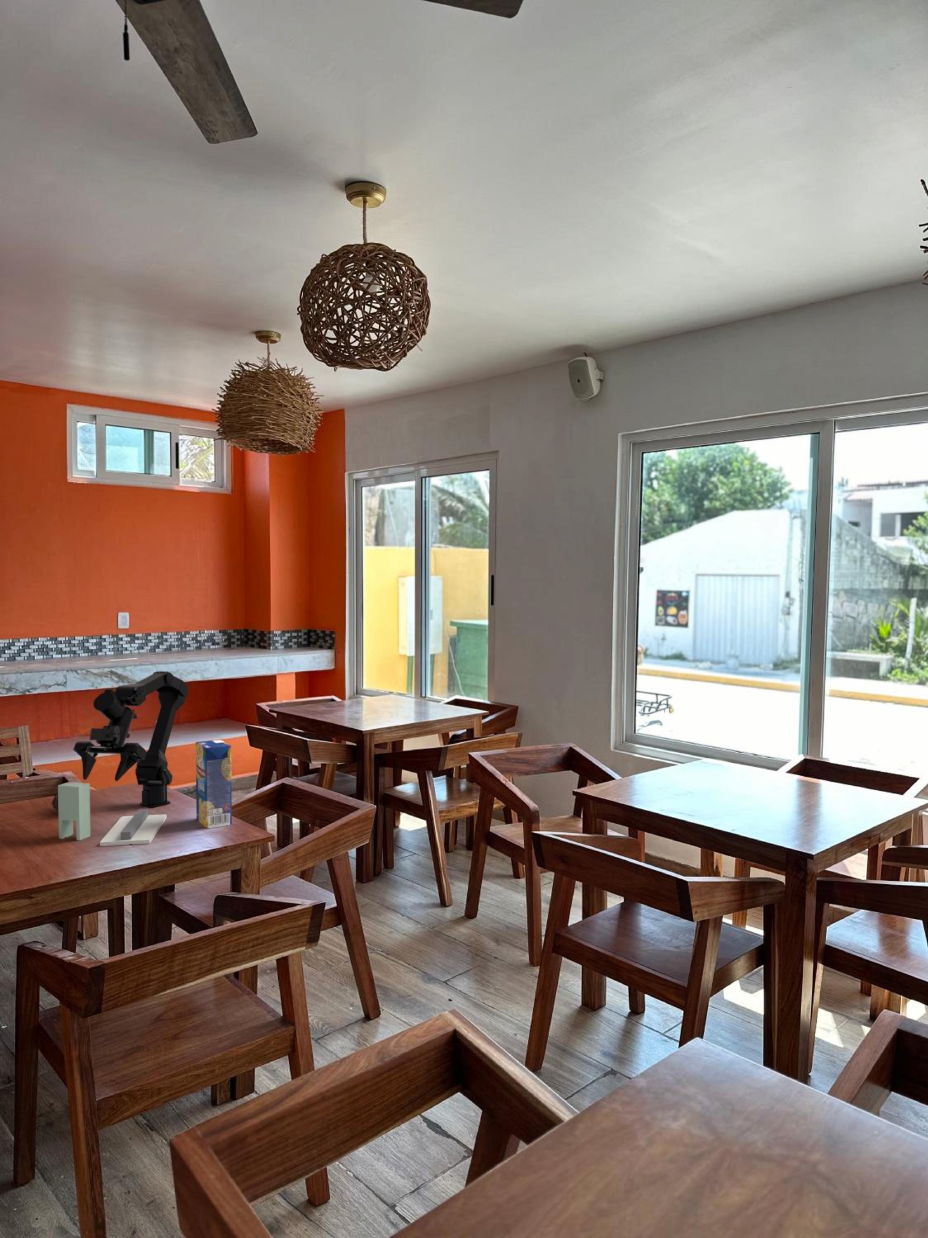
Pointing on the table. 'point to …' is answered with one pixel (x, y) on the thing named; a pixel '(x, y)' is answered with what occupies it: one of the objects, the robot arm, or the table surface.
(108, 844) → the rail
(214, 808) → the beverage box
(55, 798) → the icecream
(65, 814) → the clip
